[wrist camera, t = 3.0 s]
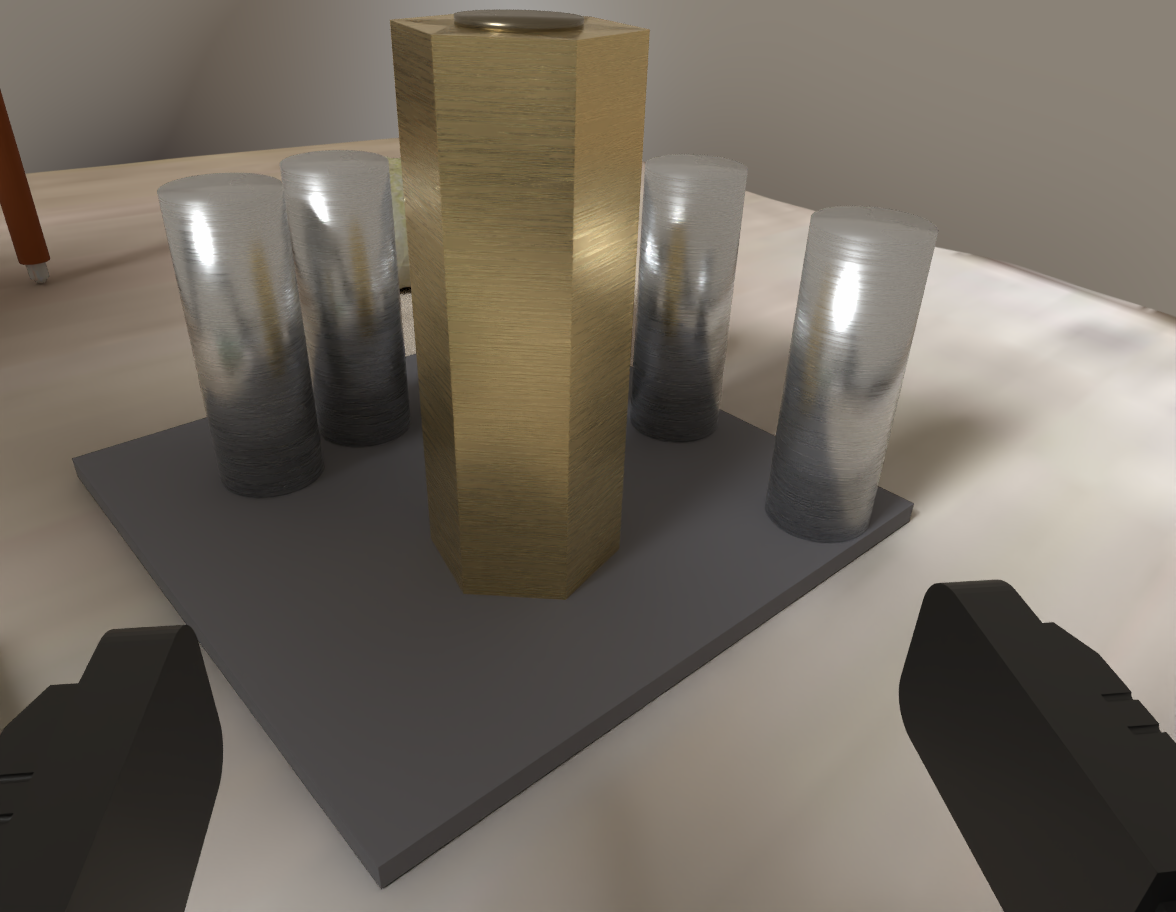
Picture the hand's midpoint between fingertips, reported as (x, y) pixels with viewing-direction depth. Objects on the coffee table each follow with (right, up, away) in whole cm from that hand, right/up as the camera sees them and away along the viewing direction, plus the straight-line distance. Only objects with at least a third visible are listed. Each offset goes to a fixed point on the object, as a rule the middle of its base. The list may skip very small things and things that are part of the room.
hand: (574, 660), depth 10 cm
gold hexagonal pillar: (-1, 0, +13) cm, 13 cm away
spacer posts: (-2, +2, +16) cm, 16 cm away
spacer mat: (-3, +1, +16) cm, 16 cm away
